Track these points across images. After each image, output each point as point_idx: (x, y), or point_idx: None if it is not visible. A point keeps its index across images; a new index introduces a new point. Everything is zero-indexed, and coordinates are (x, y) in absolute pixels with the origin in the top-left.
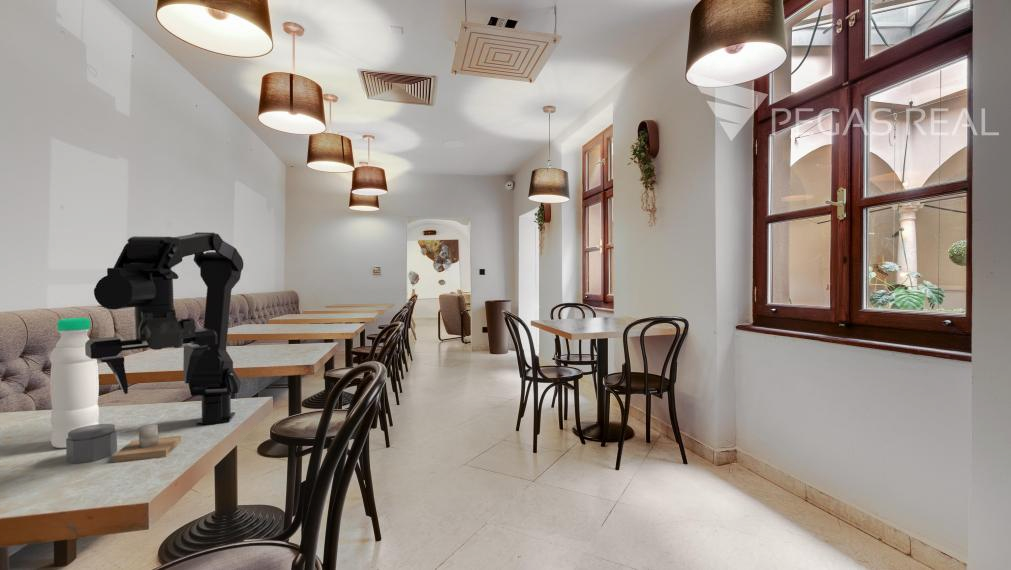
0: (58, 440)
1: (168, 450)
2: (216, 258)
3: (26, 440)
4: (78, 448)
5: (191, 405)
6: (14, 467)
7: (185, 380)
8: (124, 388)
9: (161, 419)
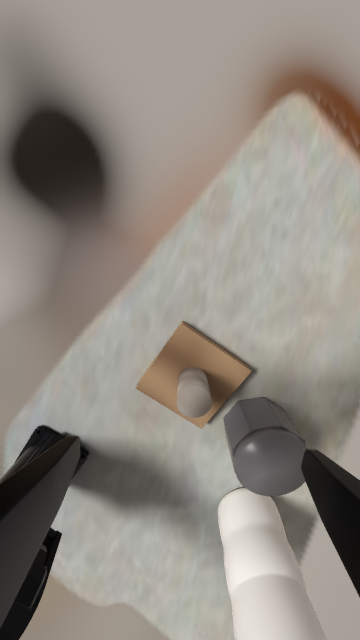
0: (277, 510)
1: (174, 333)
2: None
3: None
4: (290, 424)
5: (62, 565)
6: (333, 460)
7: (72, 454)
8: (337, 469)
9: (121, 527)
